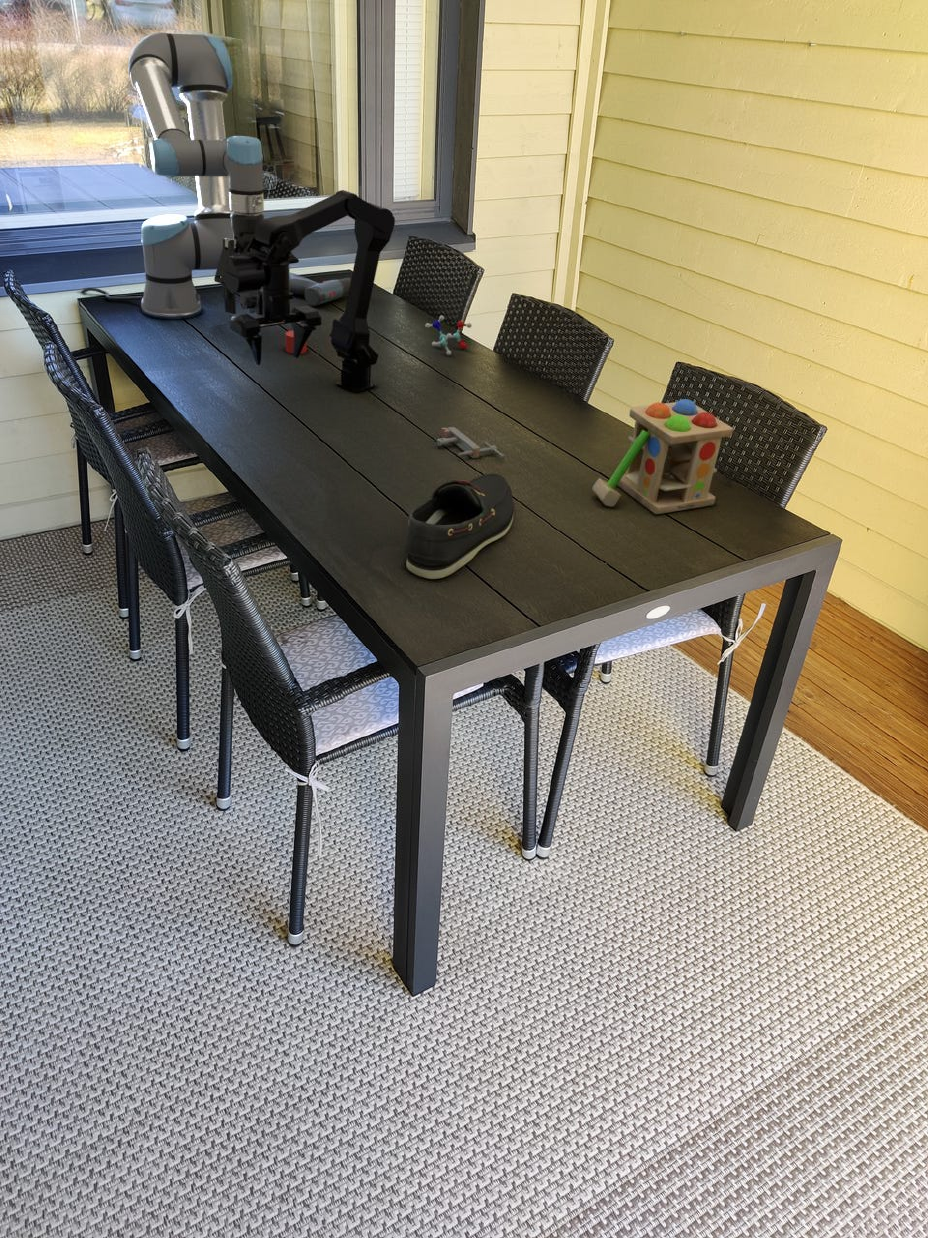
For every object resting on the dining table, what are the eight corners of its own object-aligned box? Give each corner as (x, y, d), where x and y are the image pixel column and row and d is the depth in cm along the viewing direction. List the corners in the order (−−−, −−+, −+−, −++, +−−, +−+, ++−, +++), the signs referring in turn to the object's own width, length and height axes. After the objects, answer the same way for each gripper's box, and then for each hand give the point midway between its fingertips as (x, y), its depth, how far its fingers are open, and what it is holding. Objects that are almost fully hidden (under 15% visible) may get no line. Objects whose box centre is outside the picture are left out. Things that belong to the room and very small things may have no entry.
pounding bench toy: (617, 521, 181) (635, 431, 171) (577, 488, 192) (591, 401, 182) (715, 504, 191) (737, 418, 181) (672, 473, 201) (691, 389, 191)
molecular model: (465, 347, 244) (452, 307, 242) (431, 360, 247) (418, 321, 246) (479, 347, 254) (467, 309, 253) (447, 360, 258) (434, 323, 256)
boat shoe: (539, 516, 182) (544, 464, 176) (440, 585, 158) (443, 528, 152) (480, 497, 187) (483, 446, 182) (376, 561, 163) (376, 505, 158)
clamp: (428, 429, 204) (470, 423, 208) (427, 439, 205) (469, 432, 209) (464, 459, 193) (507, 451, 198) (463, 469, 194) (506, 461, 199)
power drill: (307, 279, 292) (360, 295, 284) (264, 292, 279) (319, 308, 271) (307, 261, 289) (361, 276, 281) (263, 272, 276) (319, 289, 268)
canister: (309, 349, 244) (309, 332, 242) (301, 355, 240) (300, 338, 238) (291, 345, 245) (291, 328, 243) (282, 351, 241) (281, 334, 239)
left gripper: (218, 222, 212) (224, 320, 223) (297, 209, 229) (299, 300, 241) (193, 216, 215) (200, 313, 226) (273, 203, 233) (276, 294, 244)
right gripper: (294, 271, 210) (295, 342, 219) (214, 280, 199) (219, 355, 208) (322, 285, 203) (322, 358, 212) (241, 296, 193) (245, 372, 201)
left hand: (251, 307), depth 234 cm, fingers open, 13 cm apart
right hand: (277, 360), depth 208 cm, fingers open, 9 cm apart
